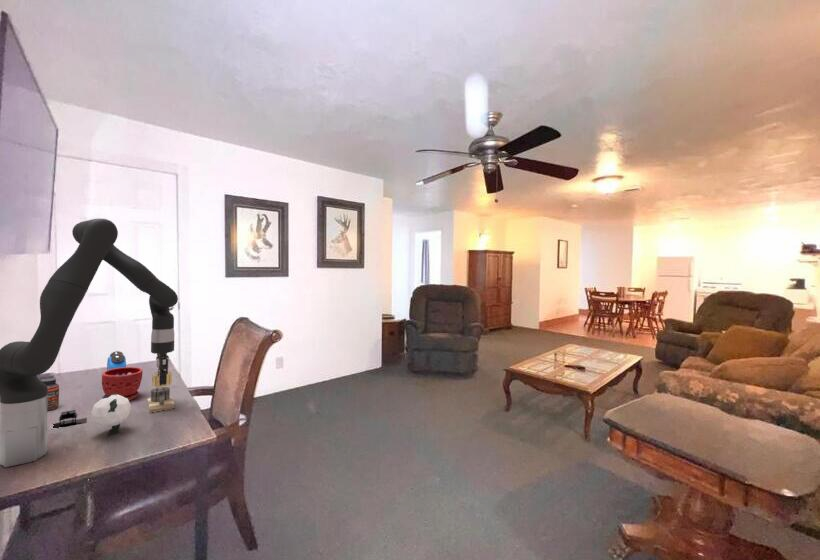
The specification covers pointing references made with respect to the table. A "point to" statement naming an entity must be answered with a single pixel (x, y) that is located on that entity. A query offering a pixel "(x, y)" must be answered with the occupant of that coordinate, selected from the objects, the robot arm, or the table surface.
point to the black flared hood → (70, 422)
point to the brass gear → (156, 379)
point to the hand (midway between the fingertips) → (162, 381)
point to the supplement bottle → (52, 393)
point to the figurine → (111, 412)
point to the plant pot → (122, 382)
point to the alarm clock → (116, 361)
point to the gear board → (160, 407)
